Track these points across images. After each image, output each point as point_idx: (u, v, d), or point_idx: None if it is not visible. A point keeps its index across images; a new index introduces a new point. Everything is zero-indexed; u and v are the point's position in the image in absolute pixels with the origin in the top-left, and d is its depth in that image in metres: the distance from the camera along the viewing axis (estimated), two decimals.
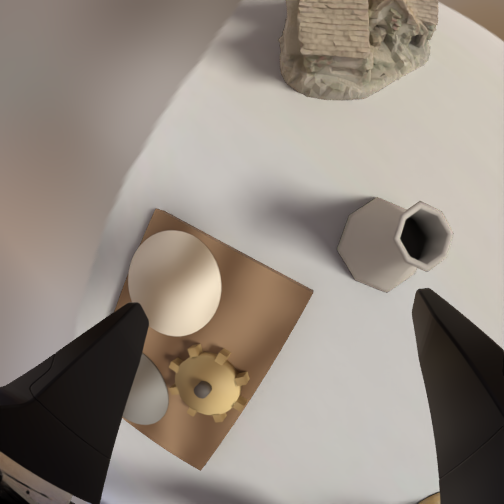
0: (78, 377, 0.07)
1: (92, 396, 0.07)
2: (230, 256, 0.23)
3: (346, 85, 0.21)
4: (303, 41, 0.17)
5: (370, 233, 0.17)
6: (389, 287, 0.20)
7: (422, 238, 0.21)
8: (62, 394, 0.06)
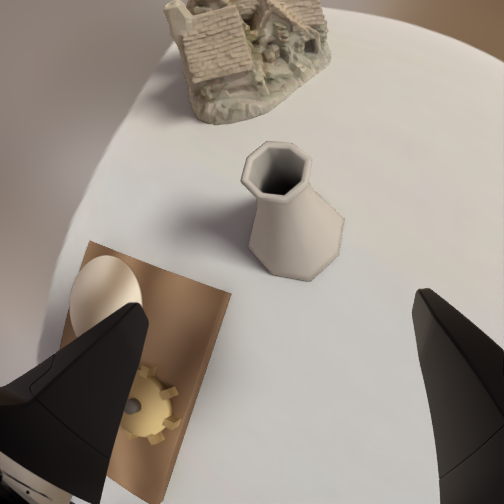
0: (79, 377, 0.07)
1: (92, 396, 0.07)
2: (147, 270, 0.23)
3: (245, 103, 0.24)
4: (193, 71, 0.21)
5: None
6: (305, 270, 0.20)
7: None
8: (62, 394, 0.06)
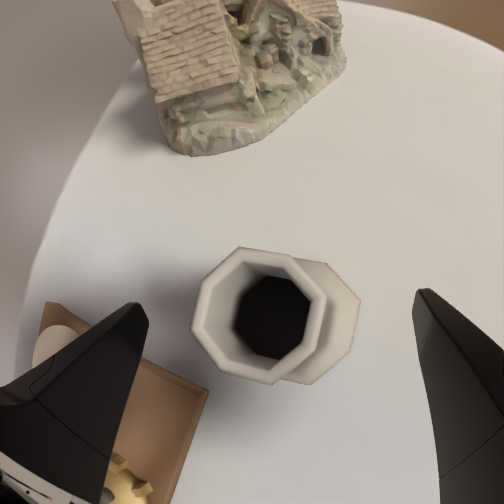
0: (79, 377, 0.07)
1: (92, 396, 0.07)
2: None
3: (230, 128, 0.18)
4: (155, 86, 0.15)
5: None
6: (304, 381, 0.13)
7: None
8: (62, 394, 0.06)
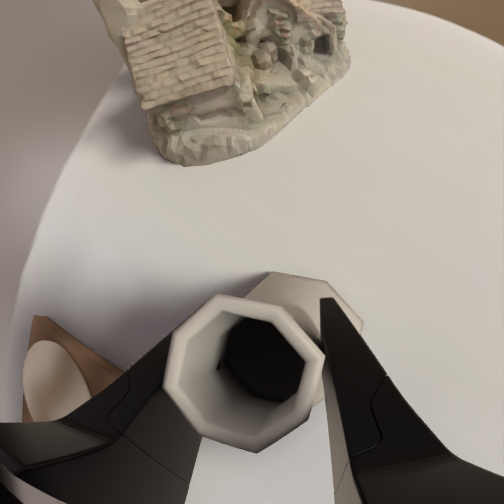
0: (164, 396, 0.06)
1: (179, 416, 0.06)
2: (95, 372, 0.15)
3: (225, 135, 0.17)
4: (142, 91, 0.13)
5: None
6: None
7: None
8: (150, 421, 0.05)
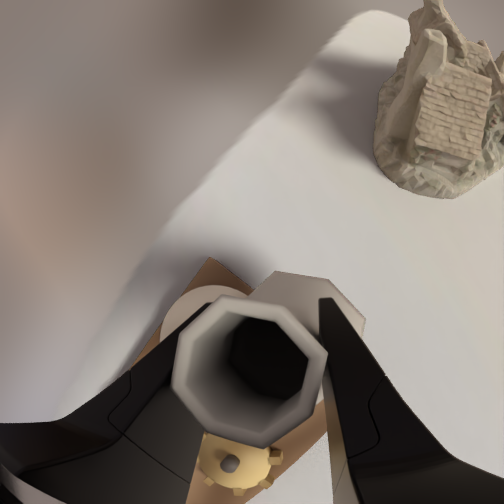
0: (166, 396, 0.06)
1: (180, 416, 0.06)
2: None
3: (443, 183, 0.19)
4: (420, 129, 0.16)
5: None
6: None
7: None
8: (152, 421, 0.05)
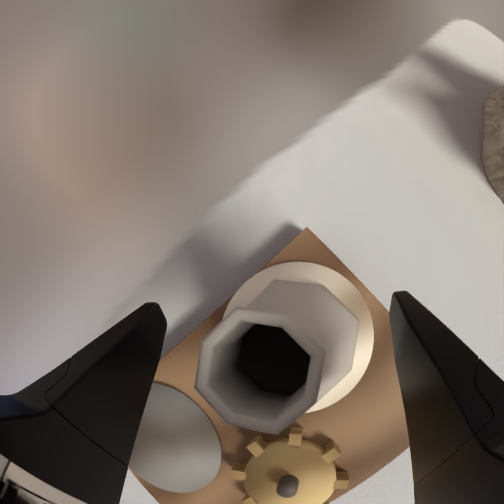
0: (97, 382, 0.06)
1: (111, 401, 0.07)
2: None
3: None
4: None
5: None
6: None
7: None
8: (80, 401, 0.06)
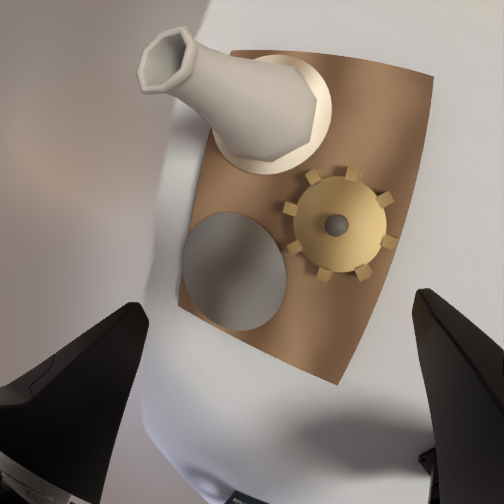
0: (78, 377, 0.07)
1: (92, 396, 0.07)
2: (330, 61, 0.16)
3: None
4: None
5: None
6: (293, 133, 0.16)
7: None
8: (62, 394, 0.06)
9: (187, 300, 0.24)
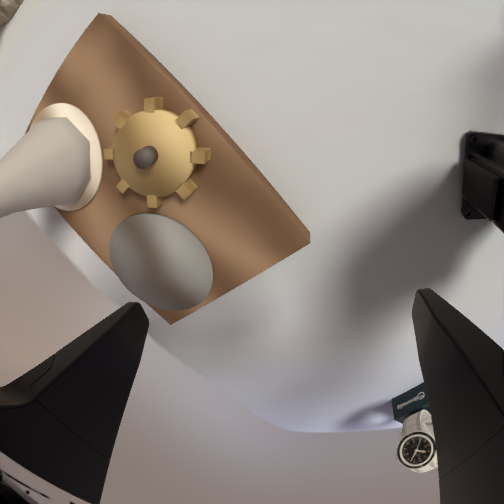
0: (79, 377, 0.07)
1: (92, 396, 0.07)
2: (51, 90, 0.15)
3: None
4: None
5: None
6: (71, 150, 0.16)
7: None
8: (62, 394, 0.06)
9: (169, 314, 0.25)
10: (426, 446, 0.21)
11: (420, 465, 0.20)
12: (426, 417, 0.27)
